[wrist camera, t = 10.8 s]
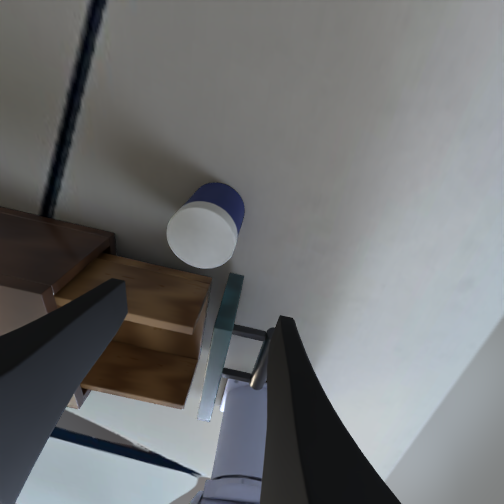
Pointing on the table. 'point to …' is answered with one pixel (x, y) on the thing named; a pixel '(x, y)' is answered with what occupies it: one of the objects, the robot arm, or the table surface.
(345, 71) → the table surface
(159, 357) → the drawer
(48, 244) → the cabinet
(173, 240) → the blue jar
